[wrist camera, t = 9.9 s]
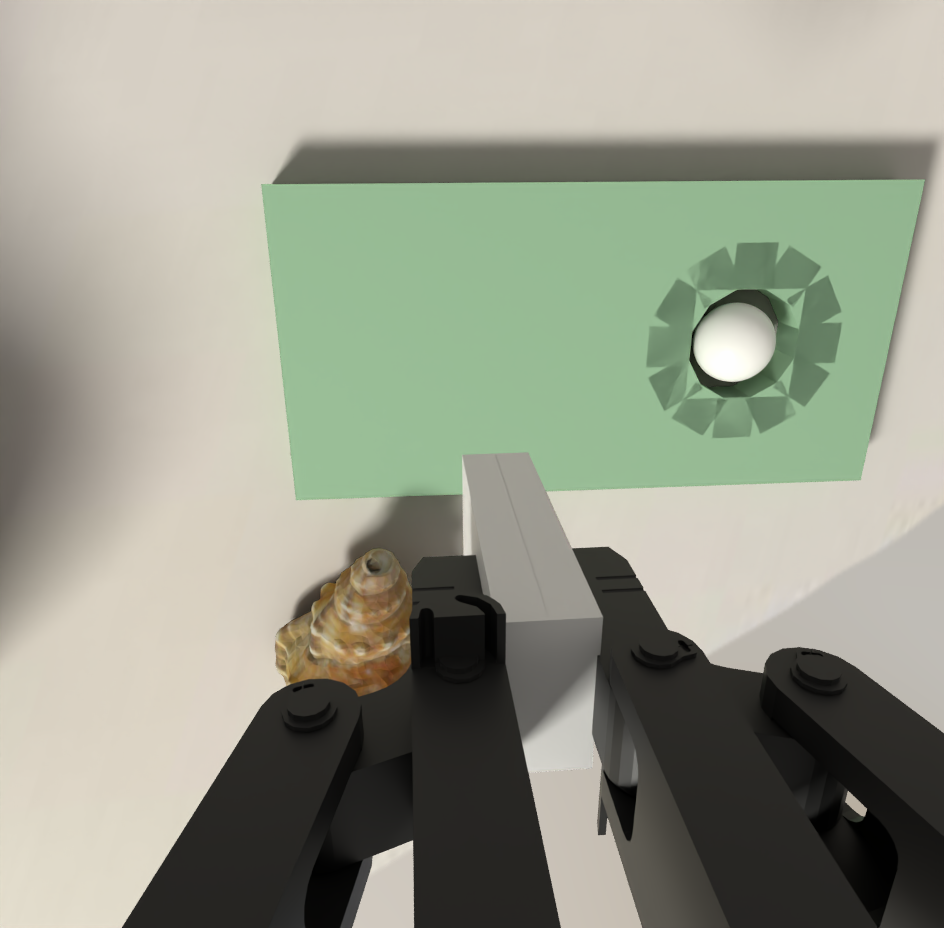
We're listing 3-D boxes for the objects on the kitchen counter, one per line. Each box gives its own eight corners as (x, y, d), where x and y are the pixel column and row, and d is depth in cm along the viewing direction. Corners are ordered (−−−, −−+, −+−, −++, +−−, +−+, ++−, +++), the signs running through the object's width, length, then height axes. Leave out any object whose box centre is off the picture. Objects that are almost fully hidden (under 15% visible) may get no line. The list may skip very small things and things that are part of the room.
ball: (768, 395, 31) (771, 372, 34) (780, 313, 29) (782, 297, 32) (684, 387, 32) (694, 366, 35) (691, 309, 31) (701, 294, 34)
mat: (302, 483, 35) (296, 500, 33) (270, 184, 30) (261, 184, 28) (838, 465, 37) (860, 480, 35) (895, 180, 32) (925, 179, 30)
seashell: (274, 551, 40) (265, 554, 30) (414, 544, 42) (448, 544, 32) (278, 718, 39) (270, 775, 29) (421, 702, 41) (458, 750, 31)
